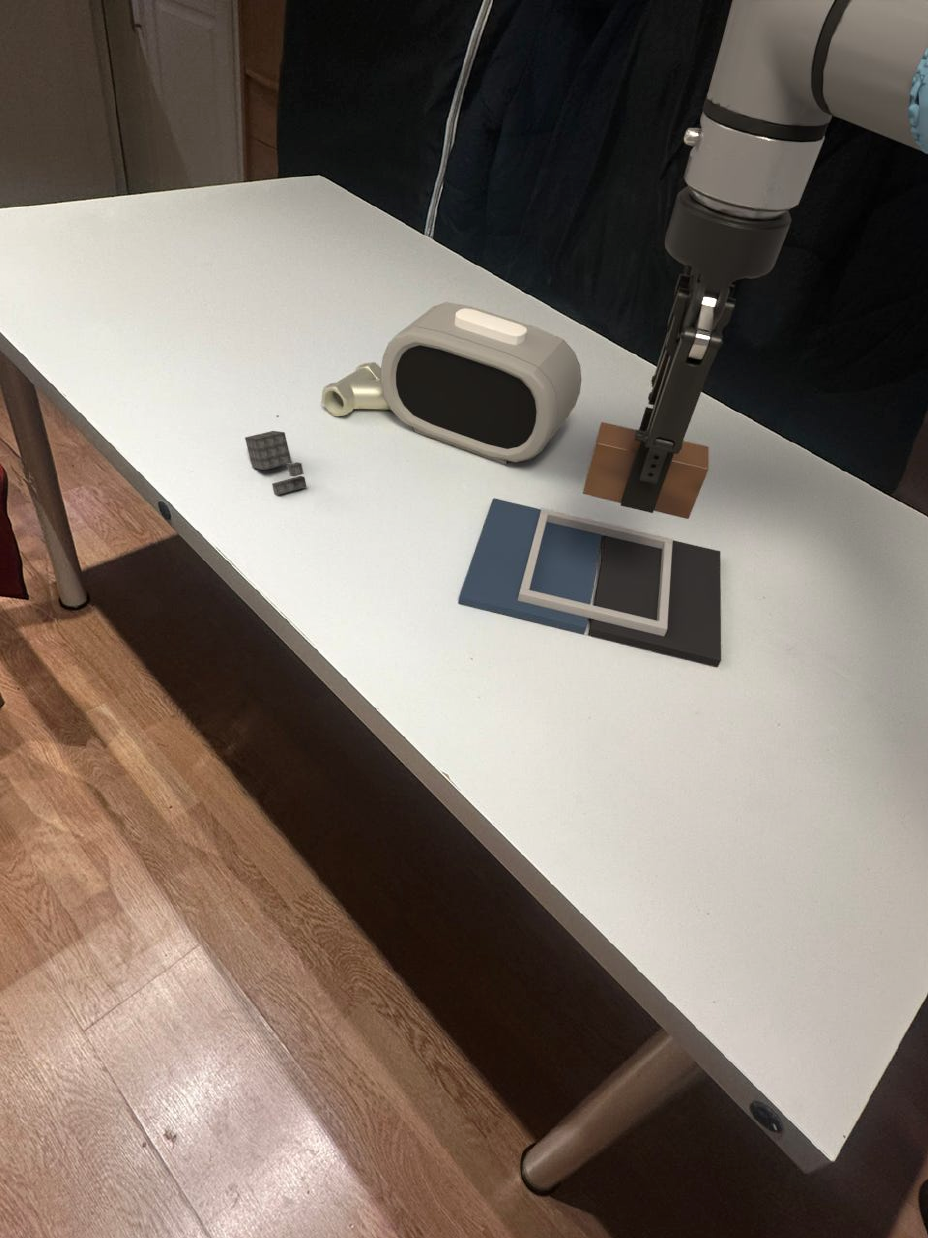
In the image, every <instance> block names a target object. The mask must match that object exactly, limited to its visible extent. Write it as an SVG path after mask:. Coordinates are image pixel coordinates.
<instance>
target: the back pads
mask: <svg viewBox="0 0 928 1238" xmlns="http://www.w3.org/2000/svg"><path fill="white" fill-rule="evenodd" d="M481 529H482V530H481V532H480V535H479V538H478V541H477V544H476V547H475V549H474V552H473V556H472V558H471V560H470V561H471V562H470V564H469V566H468V567H469V568H468V570H467V572H466V576H465V578H464V581H463V584H462V588H461V590H460V593H459V596H458V604H459V605H462V606H467V607H469V608H474V609H479V610H483V611H487V612H490V613H495V614H499V615H502V616H507V617H511V618H515V619H520V620H524V621H527V622H532V623H536V624H538V625H539V624H540V625H543V626H547V627H552V628H556V629H559V630H564V631H569V632H573V633H576V634H581V635H585V633H586V630H587V628H588V627H587V626H588V620H589V619H590V625H589V631H588V637H592V638H595V639H600V640H605V641H609V642H612V643H616V644H621V645H625V646H629V647H634V648H638V649H641V650H644V651H649V652H654V653H657V654H661V655H665V656H670V657H673V658H677V659H682V660H686V661H690V662H693V663H699V664H702V665H707V666H710V667H714V668H718V667H719V666H720V664H721V662H722V596H721V595H722V593H721V592H722V589H721V587H722V585H721V583H722V581H721V580H722V579H721V574H722V573H721V551H720V550H717V549H712V548H708V547H704V546H699V545H695V544H690V543H687V542H684V541H683V542H682V541H678V540H673V538H671V537H667V536H663V535H659V534H653V533H650V532H645V531H641V530H637V529H632V528H628V527H624V526H619V525H616V524H611V523H608V522H607V523H606V522H602V521H599V520H594V519H590V518H585V517H581V516H577V515H572V514H569V513H563V512H560V511H555V510H552V509H548V508H544V507H543V508H537V507H533V506H529V505H525V504H520V503H516V502H512V501H508V500H503V499H499V498H495V497H494V498H492V501H491V504H490V506H489V509H488V512H487V515H486V518H485V520H484V524H483V527H482V528H481ZM602 536H604V539H603V544H602V550H601V555H599V554H600V549H601V543H602ZM599 556H601V557H600V563H599V569H598V575H597V581H596V587H595V594H594V600H593V604H591V602H592V596H593V590H594V585H595V579H596V572H597V567H598V561H599Z"/></svg>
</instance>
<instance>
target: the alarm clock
mask: <svg viewBox="0 0 928 1238" xmlns="http://www.w3.org/2000/svg"><path fill="white" fill-rule="evenodd" d="M381 358H382V359H381V365H380V368H381V385H382V389H383V393H384V397H385V399H386V401H387V403H388V405H389V407H390V409H391V410H390V411H391V412H393V414H394V415H395V416H396V417H397V418H398V419H399V420H400V421H401V422H403V423H405V424H407V425H408V426H410V427H412V428H414V431H413V432H414V433H417V434H420V435H423V436H425V437H428V438H431V439H434V440H436V441H439V442H442V443H445V444H447V445H450V446H453V447H456V448H458V449H460V450H464V451H467V452H469V453H473V454H475V455H477V456H481V457H484V458H486V459H488V460H492V461H494V462H497V463H500V464H502V465H506V464H507V463H508V461H509V462H513V463H520V462H524V461H528V460H529V461H530V460H531V459H533V458H534V457H536V456H537V455H539V454H540V453H541V452H542V451H544V449H545V448H546V446H547V445H548V444H549V442H550V441H551V440H552V438H553V437H554V436H555V434H557V432H558V430H559V429H560V428H561V426H562V425H563V424H564V422H565V421H566V420H567V419H568V417H569V416H570V414H571V413H572V411H573V410H574V408H575V407H576V405H577V402H578V400H579V396H580V394H581V388H582V387H581V386H582V370H581V364H580V361H579V359H578V356H577V353H576V352H575V350H574V349H573V348H572V347H571V346H570V344H568V342H567V341H566V340H565V339H564V338H561V337H559V336H558V335H555V334H552V333H551V332H549V331H546V330H544V329H542V328H540V327H537V326H533V325H532V324H531V325H530V324H527V323H525V322H521V321H519V320H515V319H511V318H509V317H506V316H503V315H499V314H496V313H493V312H489V311H486V310H484V309H481V308H478V307H474V306H470V305H467V304H466V305H465V304H459V303H455V302H450V301H444V302H442V303H438V304H436V305H434V306H432V307H431V308H429V309H428V310H427V311H426V312H424V313H423V314H422V315H420V316H419V317H418V318H416V319H415V320H413V322H411V323H410V324H409V325H407V326H406V327H405V328H403V329H402V330H401V331H399V332H398V333H396V335H394V337H393V338H392V339H391V340H390V341H389V342H388V343H387V346H386V348H385V350H384V352H383V355H382V357H381Z"/></svg>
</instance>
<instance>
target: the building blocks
mask: <svg viewBox="0 0 928 1238" xmlns="http://www.w3.org/2000/svg"><path fill="white" fill-rule="evenodd" d="M244 440H245V444H246V447H247V451H248V455H249V460H250V464H251V467H252V468H253V469H256V470H261V471H266V470H269V469H274V468H277V467H281V466H285V465H286V466H287V469H288V474H289V476H291V477H290V478H287V479H283V480H279V481H276V482H273V483H271V486H272V489H273V493H274V495H278V496H279V495H282V494H287V493H290V492H294V491H297V490H300V489H304V488H307V486H308V485H307V482H306V478H305V476H302V475H304V469H303V465H302V462H298V461H297V462H293V463H292V457H291V453H290V450H289V444H288V440H287V436H286V432H285V431H277V430H271V431H266V432H262V433H258V434H254V435H249V436H245V437H244Z"/></svg>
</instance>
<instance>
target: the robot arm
mask: <svg viewBox="0 0 928 1238" xmlns="http://www.w3.org/2000/svg"><path fill="white" fill-rule="evenodd" d="M721 40H722V41H721V44H720V48H719V52H718V55H717V58H716V62H715V66H714V70H713V73H712V77H711V81H710V84H709V88H708V92H707V93H706V97H705V99H704V103H703V105H702V106H703V107H702V113H701V115H700V118H699V124H700V127H688V128H687V129H686V130H685V133H684V136H683V142H684V144H685V145H687V146H691V147H692V149H691V150H690V152H689V156H688V159H687V163H686V167H685V170H684V175H683V179H684V181H685V183H686V185H687V186H685V187H683V188H682V190H680V191H679V192H678V193H677V194H676V198H675V201H674V206H673V209H672V213H671V216H670V219H669V223H668V226H667V230H666V233H665V237H664V246H665V249H666V251H667V253H668V254H669V255H670V256H671V257H672V258H673V259H675V260H676V261H677V262H678V263H680V264H682V265H684V269H683V273H679V276H678V278H677V281H676V284H675V288H674V294H673V300H674V301H673V305H672V307H671V310H670V314H669V316H668V320H667V321H668V322H667V327H666V328H667V329H666V330H667V333H666V336H665V339H664V343H663V346H662V348H661V351H660V354H659V355H660V356H659V359H658V362H657V365H656V368H655V371H654V374H653V375H652V377H651V381H650V383H651V388H652V389H651V391H650V392H649V393H648V396H647V400H648V402H647V403H648V405H651V406H652V407H648V406H646V407H645V409H644V412H643V415H642V419H641V422H640V425H639V428H638V429H635V430H636V434H635V439H634V440H637V441H640V444H639V447H638V450H637V453H636V456H635V459H634V463H633V466H632V469H631V472H630V475H629V478H628V481H627V485H626V488H625V491H624V494H623V497H622V500H621V503H620V506H621V507H625V508H627V509H628V508H629V509H633V510H638V511H641V512H646V513H650V514H654V512H655V511H654V509H655V506H656V503H657V500H658V497H659V495H660V492H661V489H662V486H663V483H664V480H665V478H666V475H667V472H668V469H669V466H670V464H671V461H672V458H673V455H674V454H678V453H679V451H680V450H681V449H682V445H683V443H682V442H683V441H685V440H684V439H685V436H686V435H687V431H688V429H689V426H690V424H691V420H692V418H693V415H694V412H695V410H696V407H697V404H698V402H699V400H700V397H701V394H702V392H703V388H704V386H705V383H706V380H707V377H708V375H709V373H710V369H711V367H712V365H713V363H714V361H715V358H716V357H717V354H718V352H719V350H720V348H722V346H723V342H724V340H723V338H724V336H723V331H724V328H726V326H727V325H729V324H730V321H731V318H732V315H733V312H734V309H735V305H736V301H737V300H736V298H733V295H734V293H735V287H736V285H735V284H732V283H734V282H736V281H738V280H742V279H748V280H752V279H757V278H762V277H763V276H764V277H765V276H766V275H767V274H769V273H770V272H771V271H772V270H773V268H774V267H775V265H776V262H777V260H778V258H779V254H780V252H781V250H782V247H783V244H784V242H785V239H786V236H787V234H788V231H789V228H790V226H791V223H792V217H791V214H790V211H789V210H792V209H793V208H795V207H797V206H799V204H800V201H801V199H802V197H803V194H804V192H805V188H806V186H807V184H808V182H809V178H810V177H811V174H812V171H813V168H814V166H815V163H816V161H817V158H818V156H819V154H820V152H821V149H822V146H823V143H824V141H825V137H826V136H825V134H826V132H827V129H828V126H829V123H830V122H831V120H832V118H833V117H834V118H837V119H842V120H844V121H847V122H849V123H851V124H854V125H856V126H858V127H861V128H864V129H867V130H869V131H871V132H874V133H875V134H879V135H881V136H884V137H886V138H889V139H891V140H894V141H895V142H899V143H901V144H903V145H906V146H909V147H911V148H914V149H916V150H917V151H921V152H923V153H924V154H927V155H928V0H732V1H731V5H730V9H729V12H728V16H727V21H726V24H725V29H724V33H723V36H722V39H721Z"/></svg>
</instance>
